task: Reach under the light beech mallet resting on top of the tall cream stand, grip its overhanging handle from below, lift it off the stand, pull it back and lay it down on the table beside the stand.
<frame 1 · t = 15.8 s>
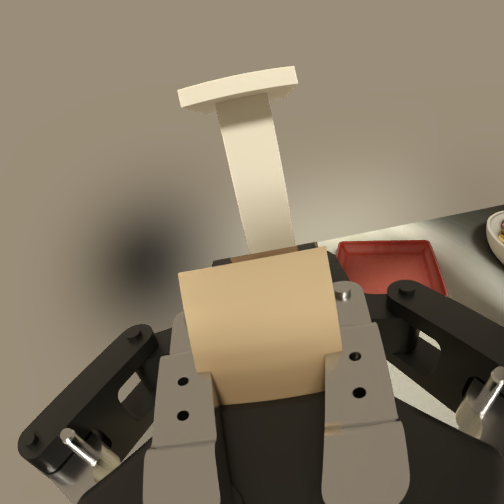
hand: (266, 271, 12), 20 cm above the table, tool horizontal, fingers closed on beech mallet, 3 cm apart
tall stand: (282, 304, 43), on the table
plant saucer: (386, 282, 43), on the table
beech mallet: (280, 307, 26), point 10 cm above the table, tilted 30°, touching gripper
when the fingers open (12 cm above the table, at t = 17.9 s): beech mallet drops 3 cm, on the table.
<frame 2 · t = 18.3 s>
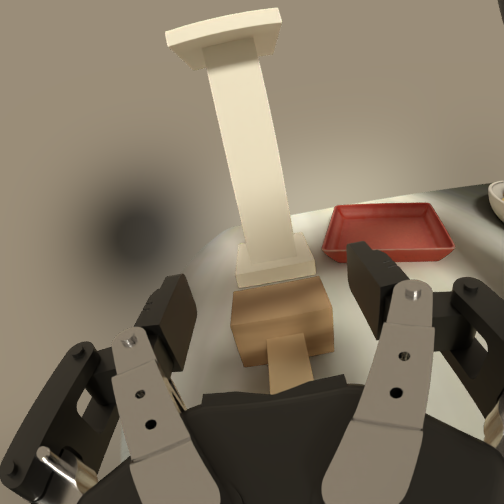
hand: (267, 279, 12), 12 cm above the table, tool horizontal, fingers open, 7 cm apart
tall stand: (274, 263, 40), on the table
plant saucer: (386, 242, 40), on the table
beech mallet: (286, 342, 26), on the table
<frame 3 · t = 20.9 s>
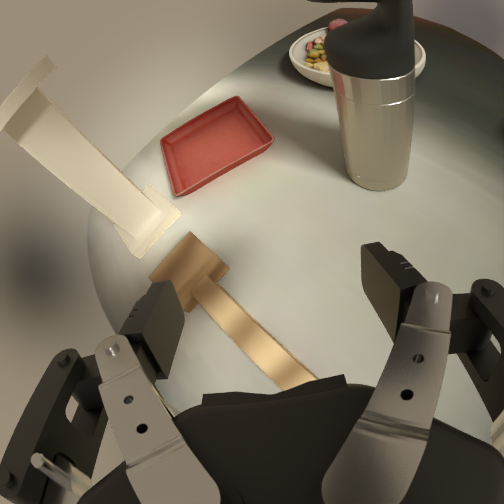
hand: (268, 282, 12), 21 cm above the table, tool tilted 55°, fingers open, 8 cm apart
tall stand: (147, 221, 46), on the table
plant saucer: (216, 150, 49), on the table
bowl: (359, 63, 48), on the table
beech mallet: (198, 279, 38), on the table
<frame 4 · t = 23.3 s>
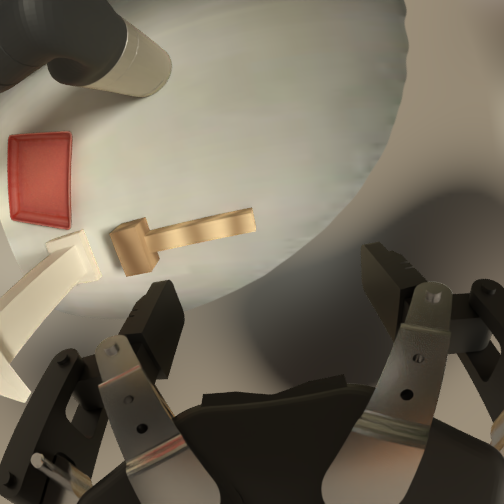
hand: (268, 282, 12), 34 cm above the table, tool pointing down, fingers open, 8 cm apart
tall stand: (75, 257, 49), on the table
plant saucer: (45, 176, 42), on the table
beech mallet: (140, 241, 48), on the table
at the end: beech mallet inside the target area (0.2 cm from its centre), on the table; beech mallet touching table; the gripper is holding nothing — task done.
